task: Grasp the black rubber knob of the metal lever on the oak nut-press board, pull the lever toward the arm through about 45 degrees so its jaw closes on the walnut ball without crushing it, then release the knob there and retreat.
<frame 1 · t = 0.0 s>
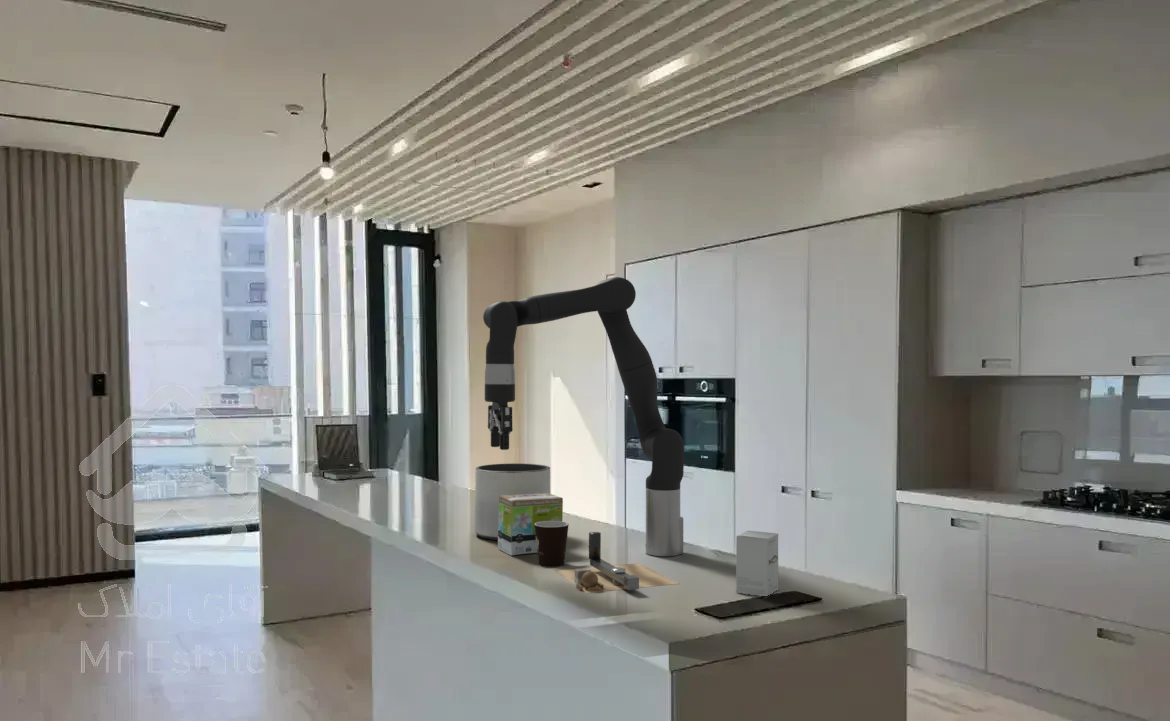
hand: (499, 448, 200), 29 cm above the worktop, fingers open, 8 cm apart
press base: (618, 590, 179), on the worktop
coffee mug: (552, 563, 205), on the worktop
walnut: (589, 588, 176), point 1 cm above the worktop, touching press base
planter: (512, 535, 241), on the worktop
tea box: (530, 551, 220), on the worktop
supplement box: (757, 592, 178), on the worktop
lever: (611, 559, 182), point 6 cm above the worktop, hinge at 0.0°
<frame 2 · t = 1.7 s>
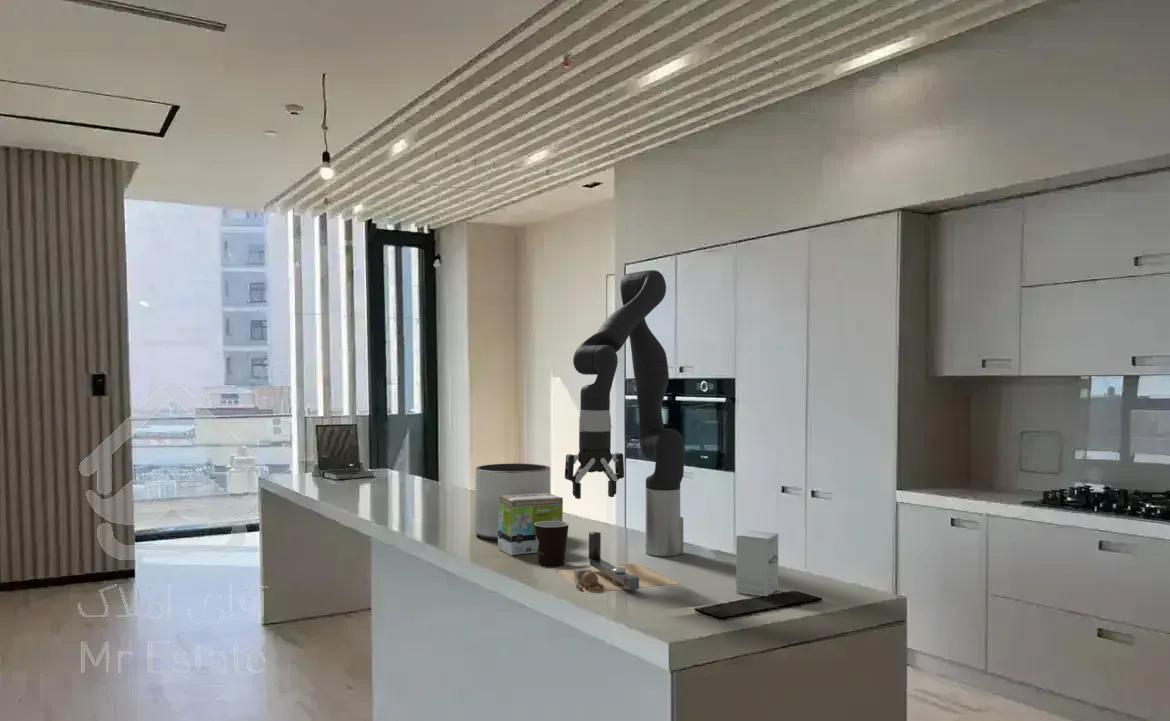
hand: (594, 497, 192), 18 cm above the worktop, fingers open, 8 cm apart
nothing on the worktop moved.
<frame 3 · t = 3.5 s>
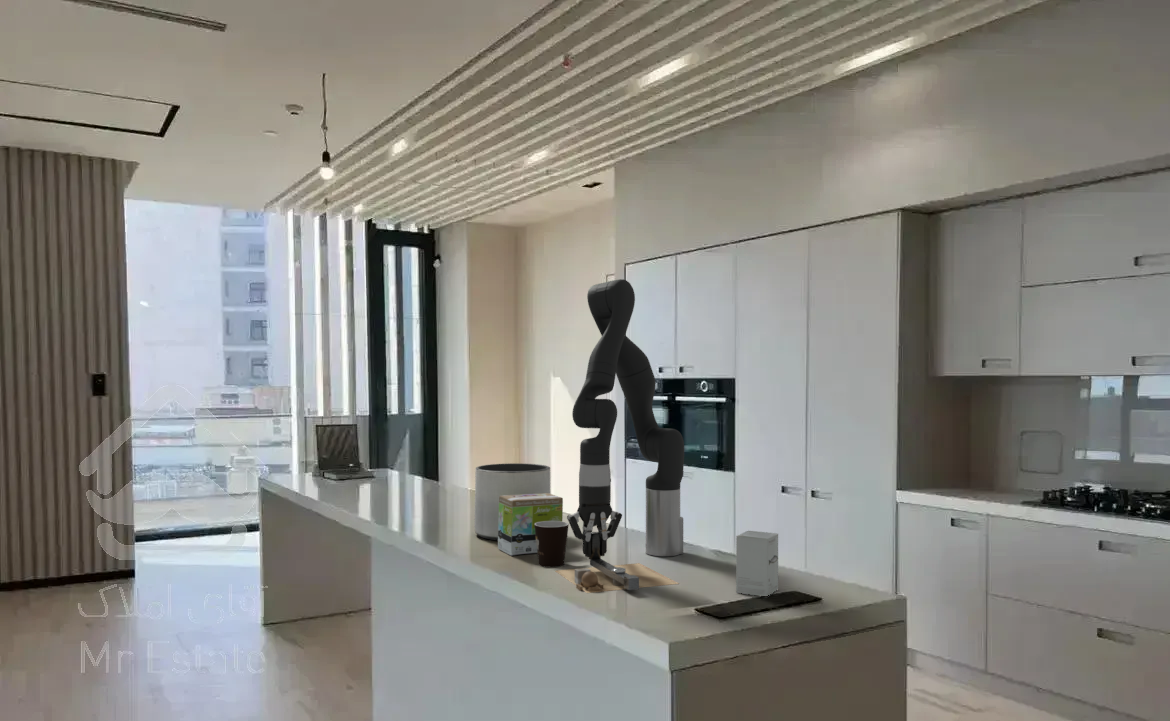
hand: (594, 555, 192), 5 cm above the worktop, fingers closed on lever, 3 cm apart
lever: (611, 559, 182), point 6 cm above the worktop, hinge at 0.0°, touching gripper
everything else where it was.
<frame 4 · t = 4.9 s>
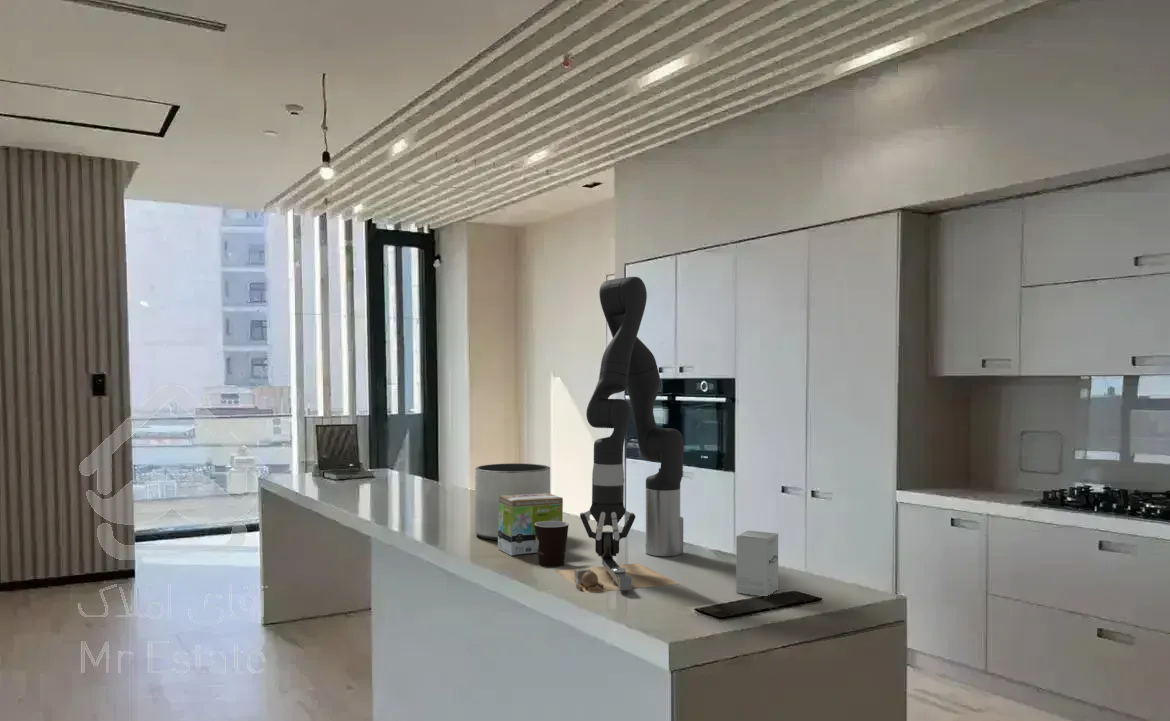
hand: (607, 555, 193), 5 cm above the worktop, fingers closed on lever, 3 cm apart
lever: (615, 558, 182), point 6 cm above the worktop, hinge at 12.5°, touching gripper
everything else where it was.
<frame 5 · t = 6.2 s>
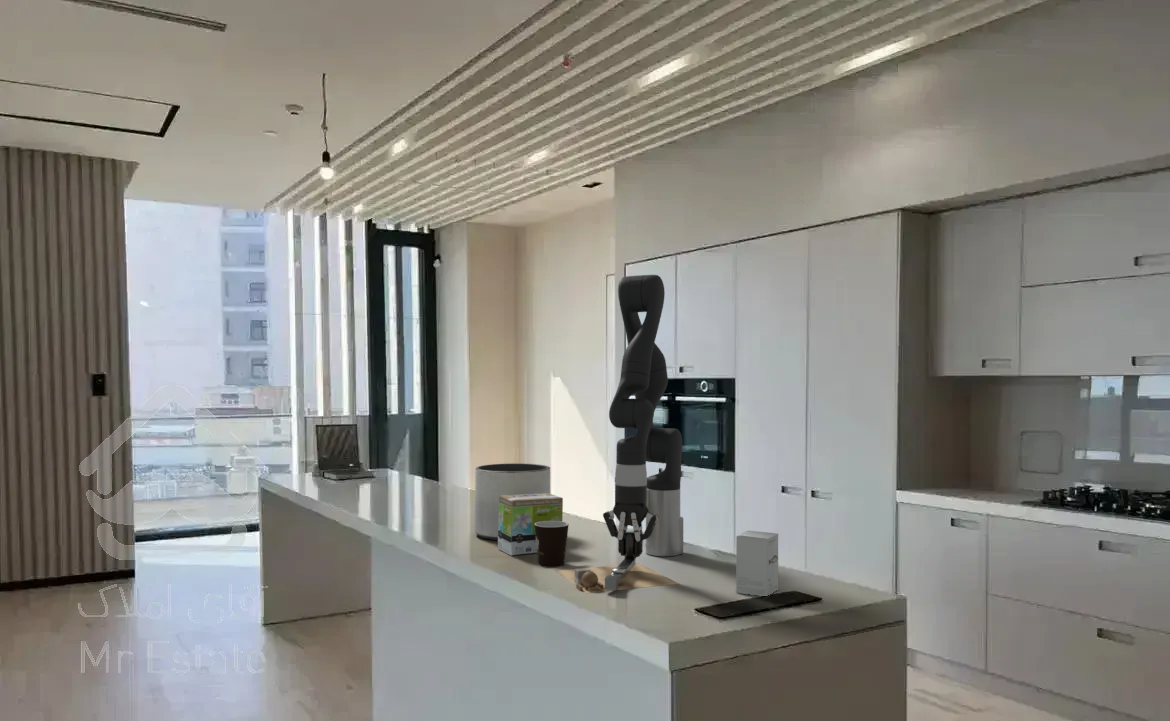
hand: (630, 555, 192), 5 cm above the worktop, fingers closed on lever, 3 cm apart
lever: (621, 558, 182), point 6 cm above the worktop, hinge at 35.4°, touching gripper
everything else where it was.
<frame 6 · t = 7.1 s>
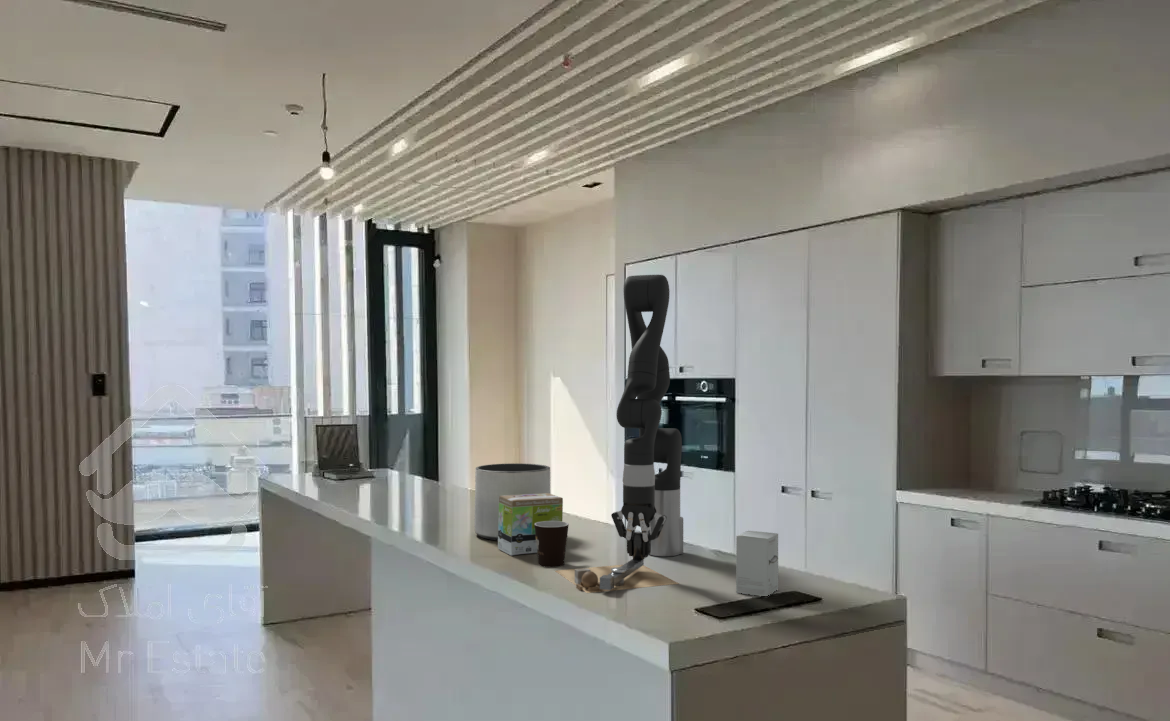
hand: (638, 555, 192), 5 cm above the worktop, fingers closed on lever, 3 cm apart
lever: (623, 559, 182), point 6 cm above the worktop, hinge at 43.6°, touching gripper
everything else where it was.
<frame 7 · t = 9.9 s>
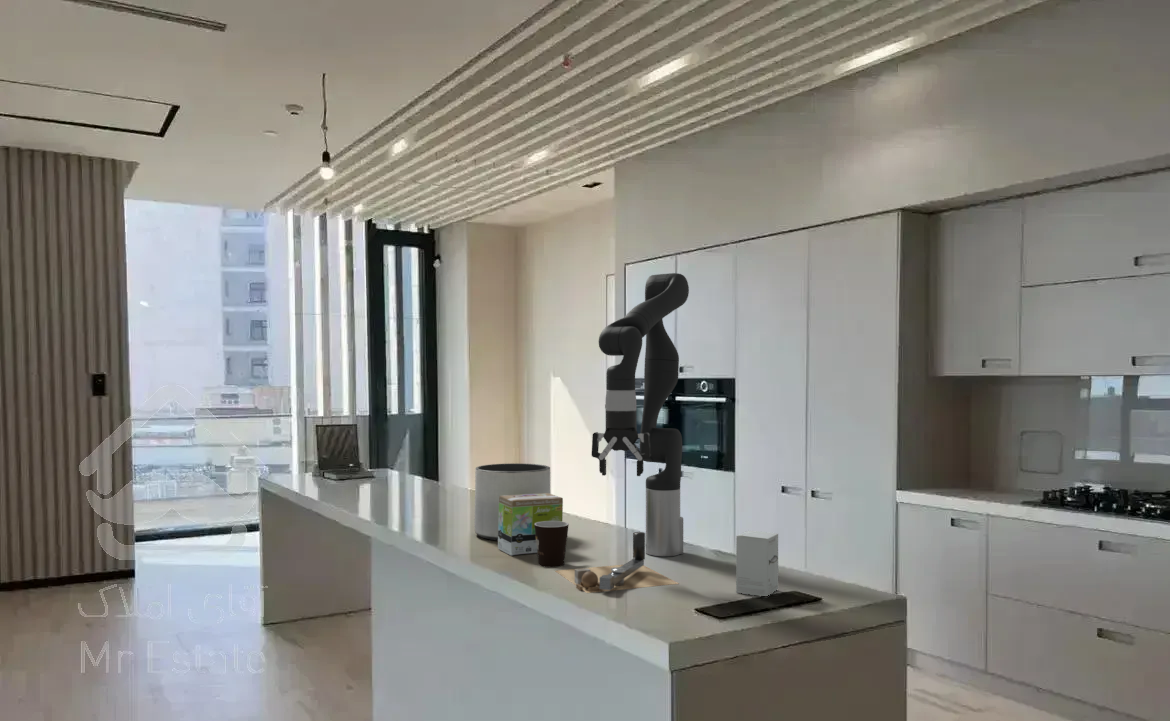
hand: (621, 475, 197), 23 cm above the worktop, fingers open, 8 cm apart
lever: (623, 559, 182), point 6 cm above the worktop, hinge at 43.8°
everything else where it was.
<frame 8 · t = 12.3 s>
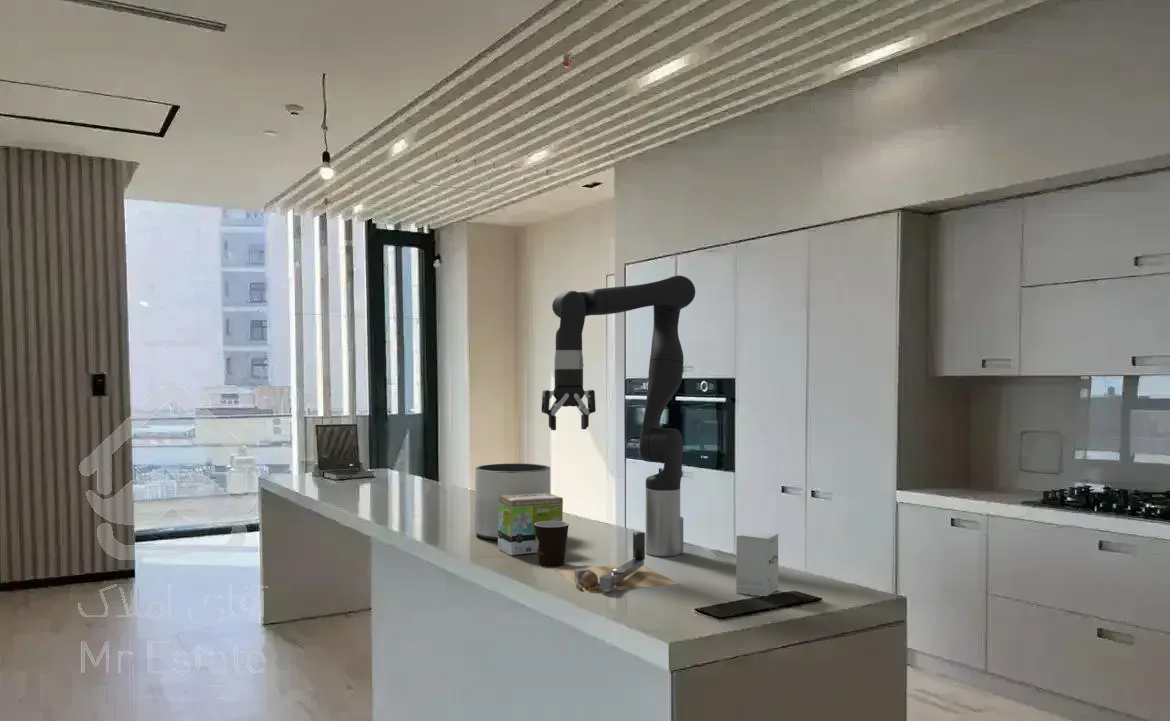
hand: (568, 429, 212), 33 cm above the worktop, fingers open, 8 cm apart
nothing on the worktop moved.
at the end: lever at +44° (first picture: +0°); the gripper is holding nothing; lever touching nothing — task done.
